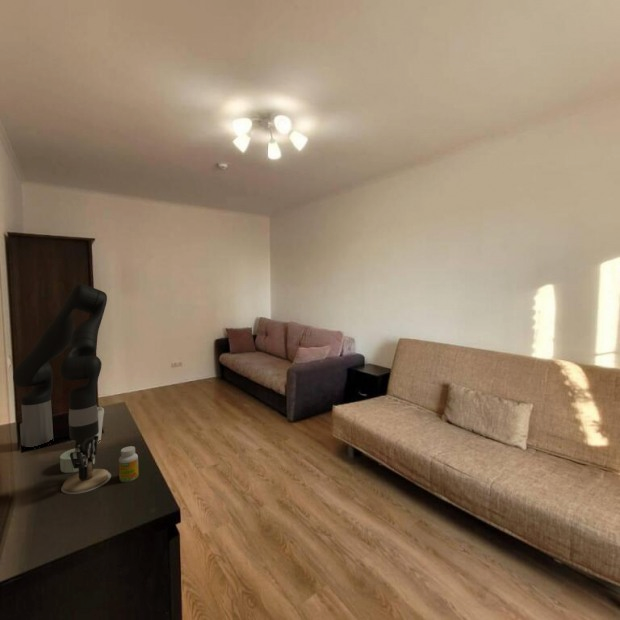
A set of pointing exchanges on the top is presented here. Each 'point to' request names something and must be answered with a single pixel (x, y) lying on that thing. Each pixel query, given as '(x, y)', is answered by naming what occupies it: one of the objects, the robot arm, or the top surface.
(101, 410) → the foam cup
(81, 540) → the top surface
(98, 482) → the lid
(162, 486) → the top surface
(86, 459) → the robot arm
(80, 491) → the mat
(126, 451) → the supplement bottle
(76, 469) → the bowl
